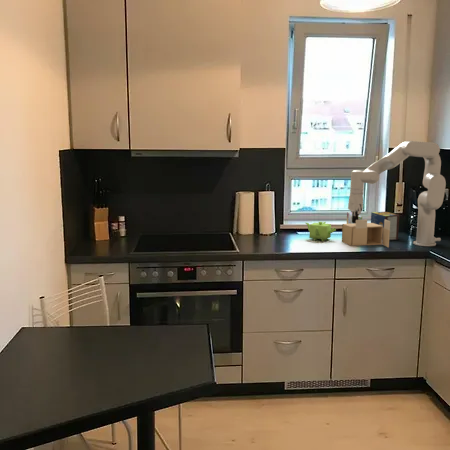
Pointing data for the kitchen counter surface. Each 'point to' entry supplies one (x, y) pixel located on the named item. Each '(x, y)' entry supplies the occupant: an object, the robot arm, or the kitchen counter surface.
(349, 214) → the snack box
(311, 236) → the kettle
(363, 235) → the flap
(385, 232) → the flap
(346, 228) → the carton
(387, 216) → the protein box
